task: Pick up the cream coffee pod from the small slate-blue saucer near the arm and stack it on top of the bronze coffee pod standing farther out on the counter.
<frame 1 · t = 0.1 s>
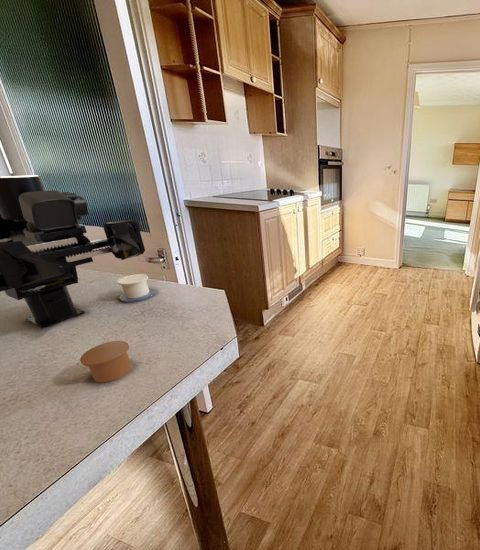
hand: (103, 259, 41), 17 cm above the counter, tool horizontal, fingers open, 9 cm apart
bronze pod: (113, 372, 43), on the counter
cream pod: (137, 293, 66), resting on saucer
saucer: (138, 295, 66), on the counter
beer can: (59, 283, 71), on the counter
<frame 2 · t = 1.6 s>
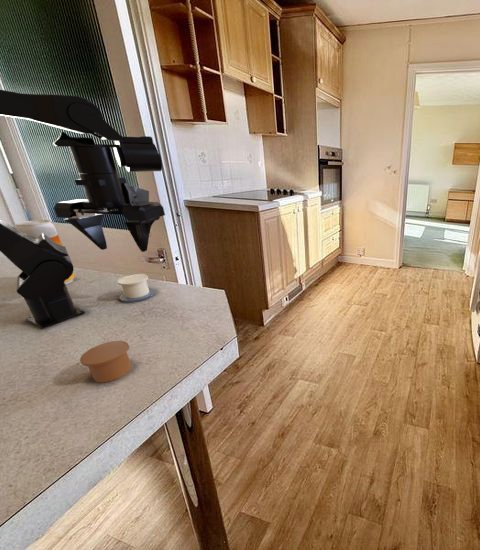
hand: (124, 250, 62), 11 cm above the counter, tool pointing down, fingers open, 9 cm apart
nothing on the counter moved.
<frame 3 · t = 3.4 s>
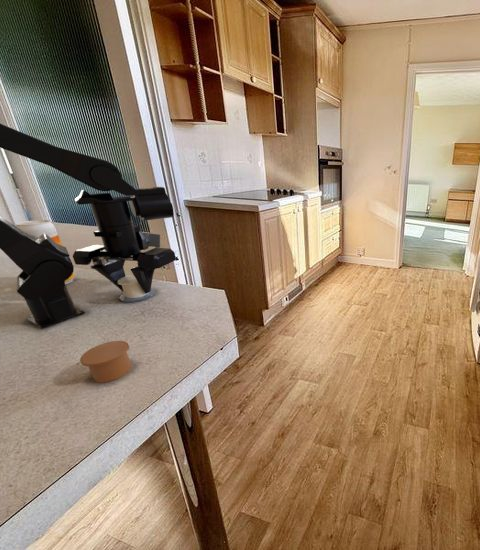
hand: (137, 291, 65), 1 cm above the counter, tool pointing down, fingers closed on cream pod, 5 cm apart
cream pod: (137, 293, 66), point 1 cm above the counter, touching gripper, saucer
everything else where it was.
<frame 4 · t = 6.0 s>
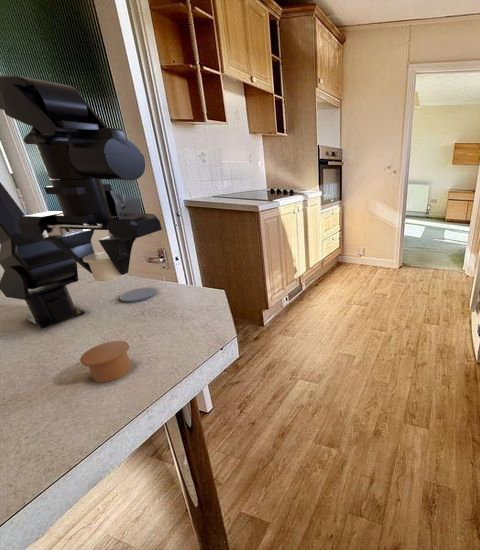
hand: (110, 273, 50), 11 cm above the counter, tool pointing down, fingers closed on cream pod, 5 cm apart
cream pod: (111, 276, 50), point 11 cm above the counter, touching gripper
everything else where it was.
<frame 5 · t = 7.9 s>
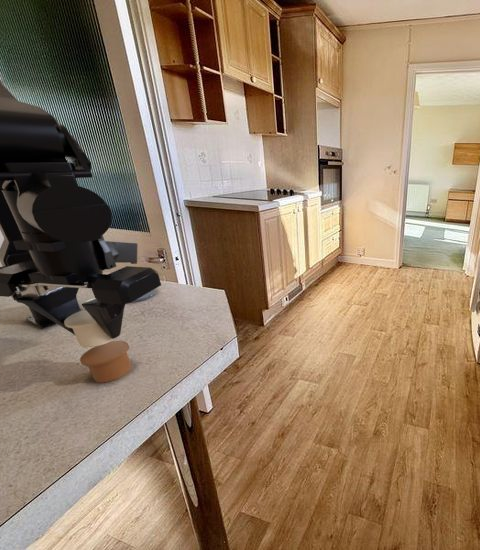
hand: (98, 335, 41), 7 cm above the counter, tool pointing down, fingers closed on cream pod, 5 cm apart
cream pod: (100, 338, 41), point 6 cm above the counter, touching gripper
everything else where it was.
when the fingers open (4 cm above the counter, at t = 9.0 s): cream pod stays where it is, resting on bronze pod.
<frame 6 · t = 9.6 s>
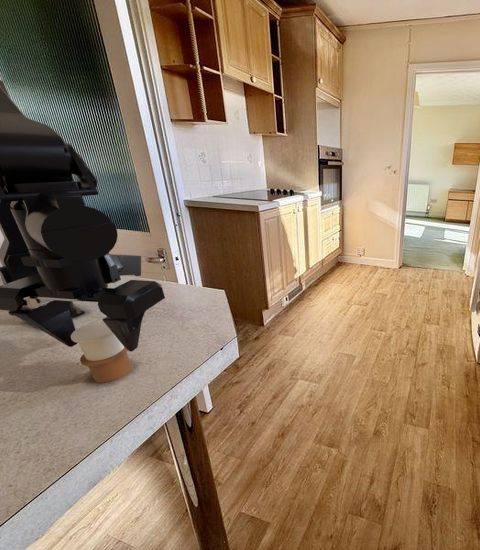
hand: (103, 347, 42), 5 cm above the counter, tool pointing down, fingers open, 9 cm apart
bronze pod: (113, 372, 43), on the counter, touching cream pod
cream pod: (105, 351, 42), point 4 cm above the counter, touching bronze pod
everything else where it was.
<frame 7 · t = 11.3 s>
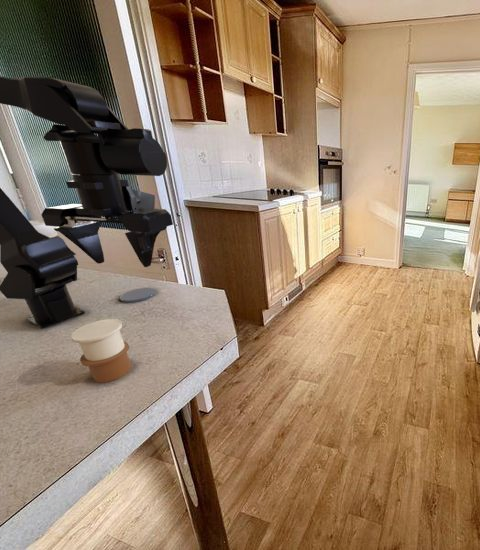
hand: (124, 264, 52), 12 cm above the counter, tool pointing down, fingers open, 9 cm apart
nothing on the counter moved.
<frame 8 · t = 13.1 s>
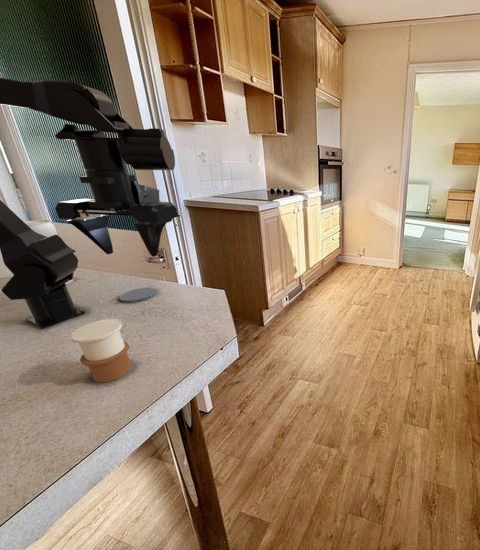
hand: (132, 254, 56), 12 cm above the counter, tool pointing down, fingers open, 9 cm apart
nothing on the counter moved.
at the end: cream pod 0.1 cm off-centre on the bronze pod, point 3.8 cm above the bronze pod's base; cream pod tilted 0°; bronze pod moved 0.0 cm from its start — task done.
